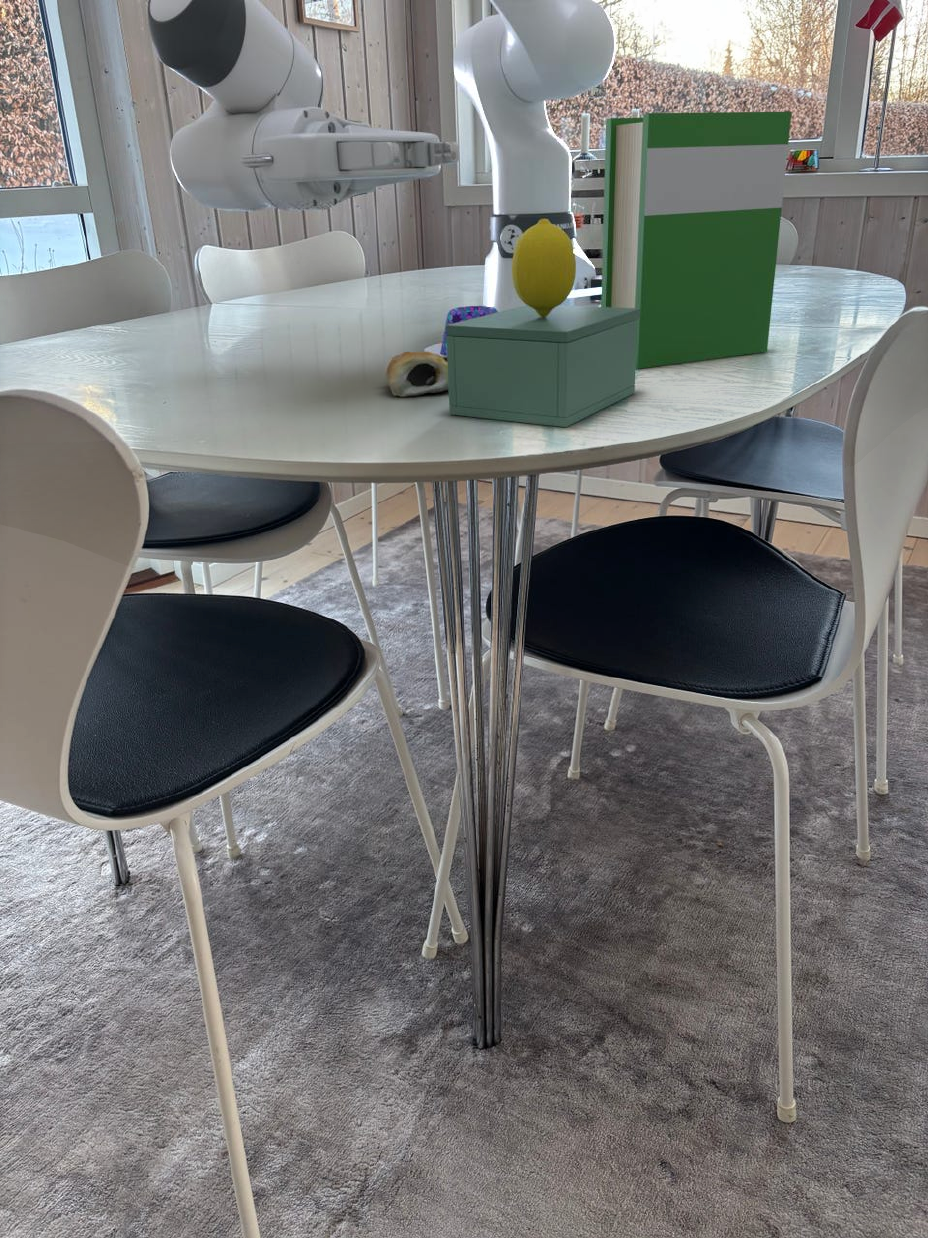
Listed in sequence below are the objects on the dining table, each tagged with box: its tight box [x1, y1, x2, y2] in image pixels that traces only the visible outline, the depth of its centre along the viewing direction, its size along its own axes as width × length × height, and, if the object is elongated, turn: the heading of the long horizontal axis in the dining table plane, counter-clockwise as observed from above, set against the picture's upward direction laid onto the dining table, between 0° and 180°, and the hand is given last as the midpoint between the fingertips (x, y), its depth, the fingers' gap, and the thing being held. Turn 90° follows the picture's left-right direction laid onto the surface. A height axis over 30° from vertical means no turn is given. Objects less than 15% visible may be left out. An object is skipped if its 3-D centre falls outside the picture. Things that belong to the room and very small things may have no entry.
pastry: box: [384, 350, 449, 398], centre depth 93 cm, size 9×7×4 cm
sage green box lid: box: [446, 305, 641, 343], centre depth 82 cm, size 15×12×1 cm
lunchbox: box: [446, 319, 638, 428], centre depth 83 cm, size 15×12×7 cm
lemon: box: [512, 219, 576, 317], centre depth 80 cm, size 6×6×8 cm
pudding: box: [423, 305, 498, 360], centre depth 109 cm, size 12×12×5 cm
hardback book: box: [601, 111, 792, 370], centre depth 99 cm, size 18×7×24 cm, turn 115°
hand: (426, 152), depth 82 cm, fingers open, 8 cm apart
